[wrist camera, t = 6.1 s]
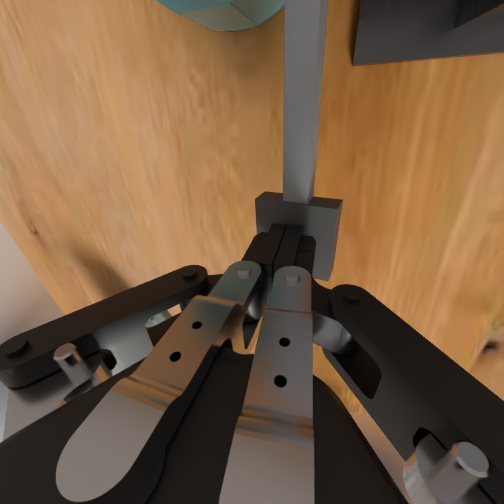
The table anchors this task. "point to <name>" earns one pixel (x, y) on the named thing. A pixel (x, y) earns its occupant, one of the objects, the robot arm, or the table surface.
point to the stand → (427, 30)
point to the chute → (303, 137)
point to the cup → (226, 12)
